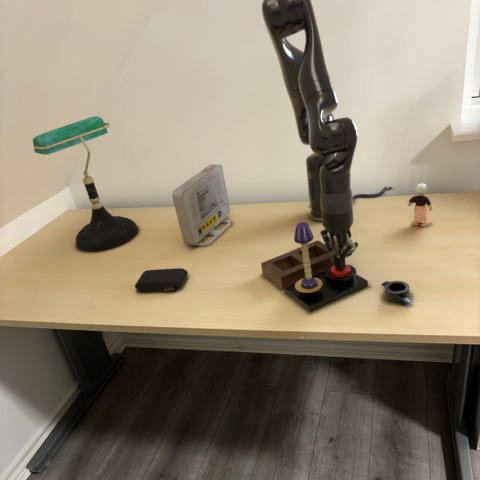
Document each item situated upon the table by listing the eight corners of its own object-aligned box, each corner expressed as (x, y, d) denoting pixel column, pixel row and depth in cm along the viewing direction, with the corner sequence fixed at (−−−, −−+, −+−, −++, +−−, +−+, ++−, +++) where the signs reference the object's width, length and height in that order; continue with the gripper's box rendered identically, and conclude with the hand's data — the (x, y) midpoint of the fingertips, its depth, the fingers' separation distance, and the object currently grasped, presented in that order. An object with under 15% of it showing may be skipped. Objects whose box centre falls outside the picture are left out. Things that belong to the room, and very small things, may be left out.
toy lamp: (296, 287, 127) (289, 228, 117) (303, 278, 130) (296, 219, 121) (314, 290, 125) (308, 229, 115) (320, 280, 128) (315, 220, 118)
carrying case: (133, 296, 145) (180, 293, 141) (130, 287, 143) (178, 284, 140) (145, 277, 153) (190, 274, 150) (142, 268, 152) (188, 265, 148)
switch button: (342, 268, 134) (342, 262, 133) (354, 275, 130) (354, 268, 129) (327, 275, 132) (326, 268, 131) (338, 282, 128) (338, 275, 127)
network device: (217, 216, 183) (206, 162, 172) (238, 217, 179) (228, 162, 168) (180, 249, 165) (165, 191, 154) (202, 251, 161) (188, 192, 150)
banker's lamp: (120, 217, 198) (86, 112, 176) (154, 228, 183) (122, 115, 161) (61, 245, 184) (16, 135, 162) (93, 259, 170) (48, 140, 147)
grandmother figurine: (434, 222, 152) (436, 182, 145) (430, 227, 149) (433, 187, 142) (408, 220, 156) (409, 180, 149) (404, 225, 153) (405, 185, 146)
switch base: (339, 269, 138) (339, 258, 136) (368, 286, 129) (367, 274, 127) (284, 293, 133) (283, 281, 131) (310, 312, 124) (308, 300, 122)
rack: (262, 275, 142) (260, 263, 140) (318, 252, 148) (317, 240, 146) (282, 290, 134) (280, 277, 132) (341, 265, 140) (340, 252, 138)
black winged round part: (412, 286, 126) (413, 276, 124) (414, 308, 118) (414, 298, 116) (380, 286, 128) (380, 276, 126) (380, 308, 120) (380, 298, 119)
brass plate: (312, 275, 131) (312, 274, 131) (328, 285, 126) (328, 284, 126) (289, 284, 129) (289, 284, 129) (304, 295, 124) (304, 294, 124)
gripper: (367, 209, 116) (368, 273, 126) (333, 194, 126) (336, 255, 136) (340, 219, 114) (344, 284, 124) (308, 204, 124) (313, 264, 134)
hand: (340, 268), depth 130 cm, fingers closed
